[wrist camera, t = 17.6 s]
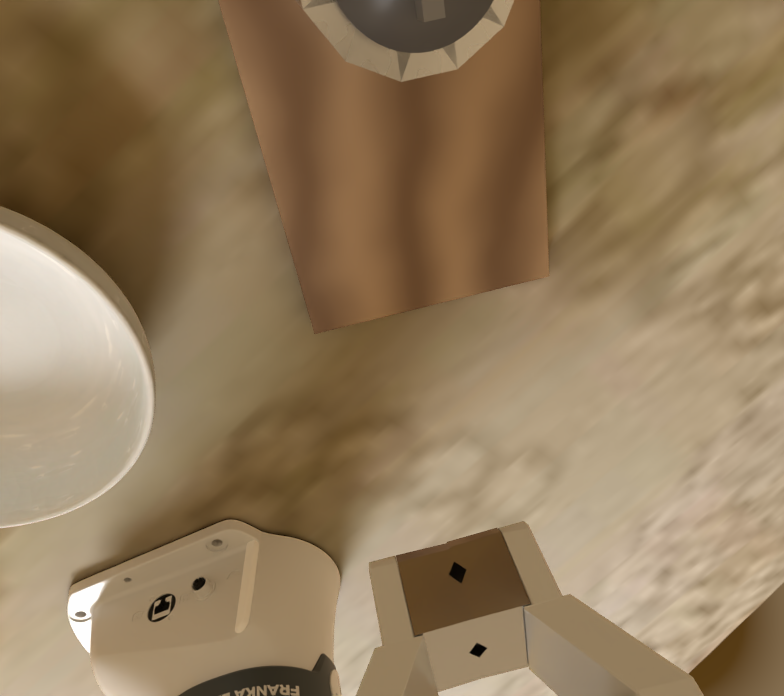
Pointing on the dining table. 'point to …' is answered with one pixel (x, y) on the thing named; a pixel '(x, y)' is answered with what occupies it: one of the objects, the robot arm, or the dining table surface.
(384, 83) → the walnut board
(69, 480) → the serving bowl
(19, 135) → the dining table surface
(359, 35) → the white cylinder
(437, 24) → the control knob
